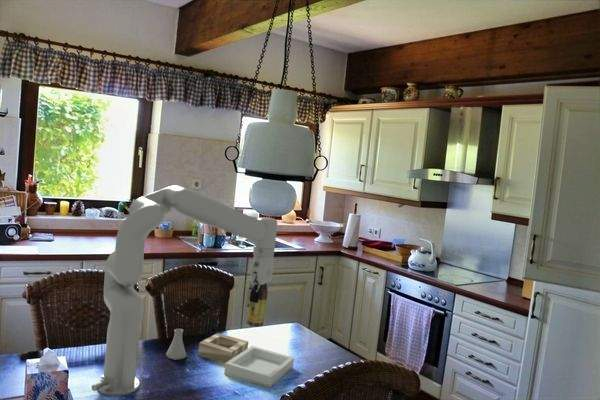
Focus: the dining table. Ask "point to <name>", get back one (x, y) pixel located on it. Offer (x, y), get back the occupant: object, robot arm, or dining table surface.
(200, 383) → the dining table surface
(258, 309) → the sauce bottle
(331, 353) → the dining table surface
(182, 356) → the flask
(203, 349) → the shallow rimmed box
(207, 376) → the dining table surface
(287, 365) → the tray
